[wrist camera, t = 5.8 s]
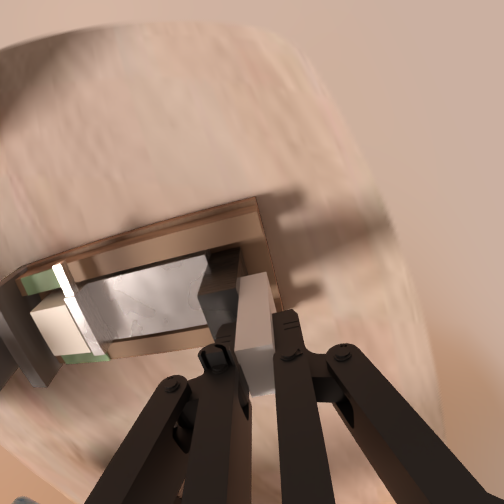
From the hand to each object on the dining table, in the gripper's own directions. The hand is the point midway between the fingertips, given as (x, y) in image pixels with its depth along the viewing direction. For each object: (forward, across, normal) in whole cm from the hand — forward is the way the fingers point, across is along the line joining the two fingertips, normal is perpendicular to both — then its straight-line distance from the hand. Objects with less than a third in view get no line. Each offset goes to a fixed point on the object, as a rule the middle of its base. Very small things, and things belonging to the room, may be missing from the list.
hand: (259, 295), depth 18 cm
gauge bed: (+5, -10, 0) cm, 11 cm away
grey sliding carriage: (+3, -7, +1) cm, 8 cm away
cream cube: (+4, -15, 0) cm, 15 cm away
